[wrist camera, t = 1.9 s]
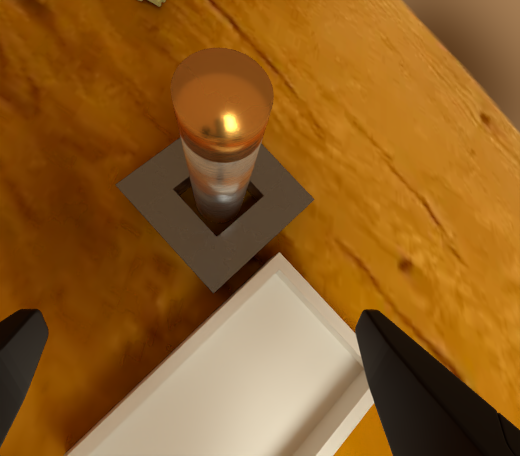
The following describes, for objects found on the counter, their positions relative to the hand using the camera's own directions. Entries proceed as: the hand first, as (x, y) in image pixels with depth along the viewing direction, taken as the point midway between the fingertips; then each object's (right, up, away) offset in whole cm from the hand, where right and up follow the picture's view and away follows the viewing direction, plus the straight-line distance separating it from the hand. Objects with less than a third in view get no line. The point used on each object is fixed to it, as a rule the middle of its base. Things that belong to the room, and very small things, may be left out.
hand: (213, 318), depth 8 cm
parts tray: (-1, -9, +12) cm, 15 cm away
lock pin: (-2, +5, +15) cm, 15 cm away
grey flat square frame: (-2, +5, +15) cm, 15 cm away
